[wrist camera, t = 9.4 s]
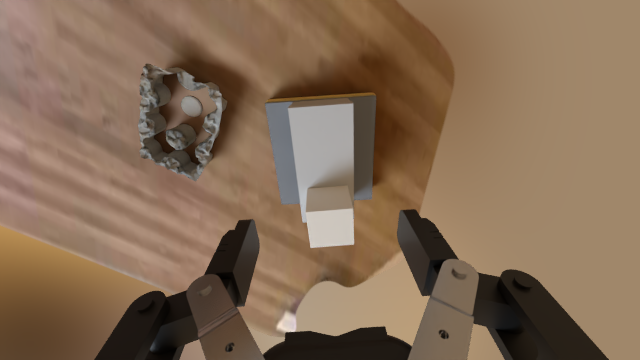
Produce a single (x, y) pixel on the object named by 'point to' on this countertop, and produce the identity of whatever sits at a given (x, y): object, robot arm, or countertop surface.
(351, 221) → the block
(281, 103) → the dock
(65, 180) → the countertop surface
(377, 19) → the countertop surface
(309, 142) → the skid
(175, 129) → the egg carton
